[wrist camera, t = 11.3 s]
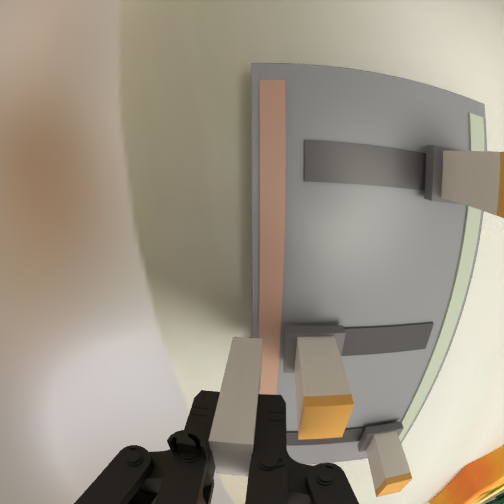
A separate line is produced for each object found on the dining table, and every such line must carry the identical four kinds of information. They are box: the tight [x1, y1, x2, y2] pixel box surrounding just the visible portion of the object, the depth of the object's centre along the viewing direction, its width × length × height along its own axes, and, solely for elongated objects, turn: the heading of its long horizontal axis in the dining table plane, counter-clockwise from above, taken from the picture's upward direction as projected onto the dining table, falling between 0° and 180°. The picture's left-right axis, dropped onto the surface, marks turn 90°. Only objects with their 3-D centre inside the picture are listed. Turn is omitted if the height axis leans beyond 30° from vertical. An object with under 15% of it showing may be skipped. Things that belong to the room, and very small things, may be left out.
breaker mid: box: [283, 325, 354, 440], centre depth 13 cm, size 3×3×6 cm
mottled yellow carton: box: [430, 446, 504, 504], centre depth 21 cm, size 18×12×24 cm
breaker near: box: [424, 145, 504, 218], centre depth 9 cm, size 3×3×6 cm
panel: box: [251, 63, 487, 464], centre depth 16 cm, size 30×14×2 cm, turn 0°
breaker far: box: [357, 421, 412, 497], centre depth 15 cm, size 3×3×6 cm
